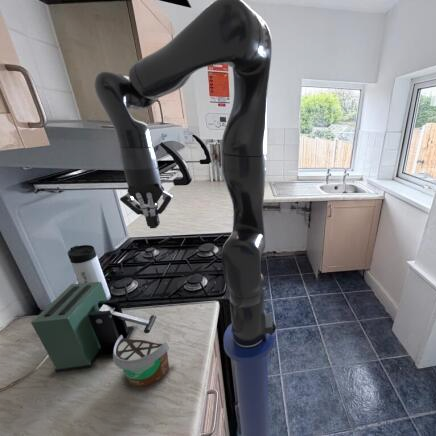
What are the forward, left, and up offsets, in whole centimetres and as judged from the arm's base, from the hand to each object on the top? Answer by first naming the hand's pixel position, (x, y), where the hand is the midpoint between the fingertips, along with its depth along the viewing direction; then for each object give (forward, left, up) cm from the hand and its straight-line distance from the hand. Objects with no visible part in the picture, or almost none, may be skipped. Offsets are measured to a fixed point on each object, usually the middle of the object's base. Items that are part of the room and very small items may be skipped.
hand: (154, 227), depth 66 cm
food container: (0, +24, -29) cm, 38 cm away
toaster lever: (+7, +12, -22) cm, 26 cm away
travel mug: (+25, -7, -29) cm, 39 cm away
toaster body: (+18, +12, -29) cm, 36 cm away
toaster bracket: (+11, +12, -29) cm, 33 cm away
